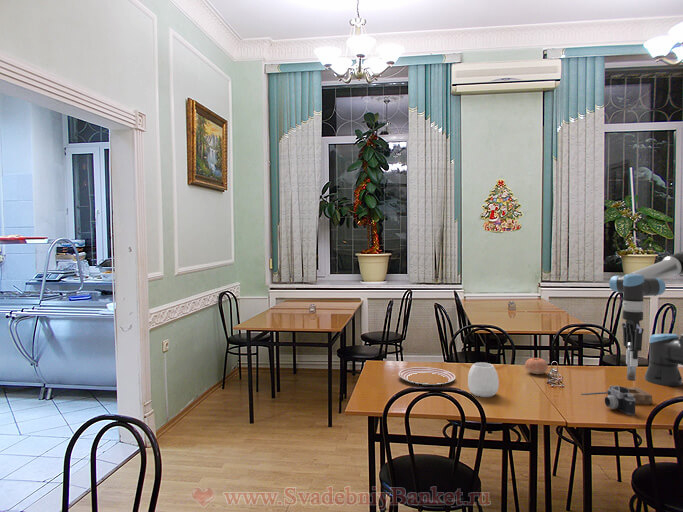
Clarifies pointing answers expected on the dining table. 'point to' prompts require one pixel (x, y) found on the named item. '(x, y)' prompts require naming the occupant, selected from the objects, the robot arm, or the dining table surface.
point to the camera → (620, 400)
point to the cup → (483, 380)
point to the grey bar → (630, 369)
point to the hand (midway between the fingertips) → (631, 365)
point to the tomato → (536, 365)
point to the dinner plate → (415, 370)
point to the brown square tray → (640, 395)
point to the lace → (594, 393)
